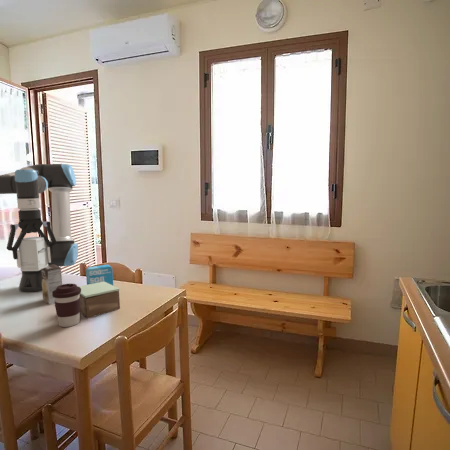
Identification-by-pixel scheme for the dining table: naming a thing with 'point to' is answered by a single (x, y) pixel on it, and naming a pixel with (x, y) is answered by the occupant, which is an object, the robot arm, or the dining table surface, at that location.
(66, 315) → the coffee cup
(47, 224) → the robot arm
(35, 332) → the dining table surface
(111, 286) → the lid
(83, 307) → the box
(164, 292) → the dining table surface
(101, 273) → the data package
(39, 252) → the supplement box
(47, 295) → the coffee box
